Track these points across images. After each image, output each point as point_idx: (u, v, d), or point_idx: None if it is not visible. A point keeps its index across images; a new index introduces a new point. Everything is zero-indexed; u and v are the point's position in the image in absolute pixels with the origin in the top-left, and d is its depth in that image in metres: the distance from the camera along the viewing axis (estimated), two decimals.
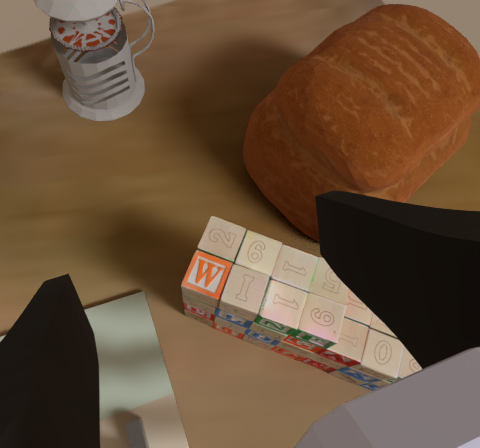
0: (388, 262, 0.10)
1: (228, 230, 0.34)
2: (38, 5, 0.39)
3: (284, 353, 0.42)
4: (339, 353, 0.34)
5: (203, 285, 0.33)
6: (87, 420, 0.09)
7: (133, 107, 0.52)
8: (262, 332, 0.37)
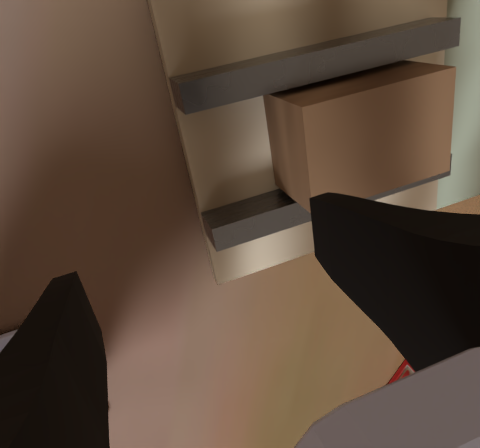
0: (381, 265, 0.10)
1: None
2: None
3: None
4: None
5: None
6: (96, 416, 0.09)
7: None
8: None
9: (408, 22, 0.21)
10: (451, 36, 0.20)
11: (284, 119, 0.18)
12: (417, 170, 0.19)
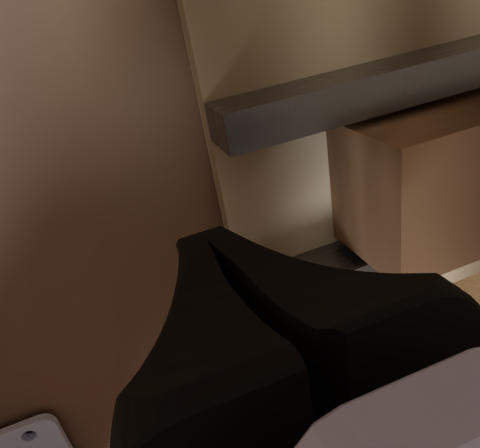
0: None
1: None
2: None
3: None
4: None
5: None
6: None
7: None
8: None
9: None
10: None
11: (363, 160, 0.13)
12: None
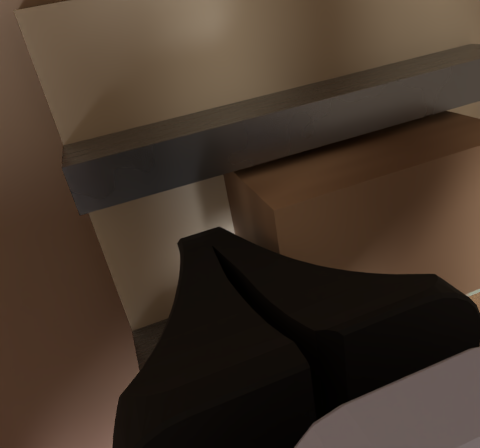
0: None
1: None
2: None
3: None
4: None
5: None
6: None
7: None
8: None
9: (440, 51, 0.14)
10: None
11: (250, 212, 0.11)
12: (458, 283, 0.13)
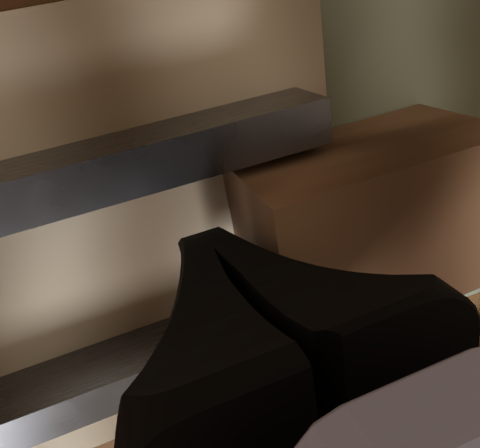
0: None
1: None
2: None
3: None
4: None
5: None
6: None
7: None
8: None
9: (256, 97, 0.12)
10: (315, 129, 0.11)
11: (249, 211, 0.11)
12: (458, 283, 0.13)
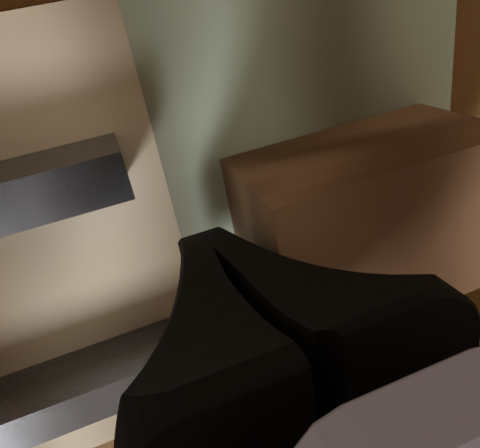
0: None
1: None
2: None
3: None
4: None
5: None
6: None
7: None
8: None
9: (65, 144, 0.11)
10: (109, 185, 0.10)
11: (249, 211, 0.11)
12: (458, 282, 0.13)
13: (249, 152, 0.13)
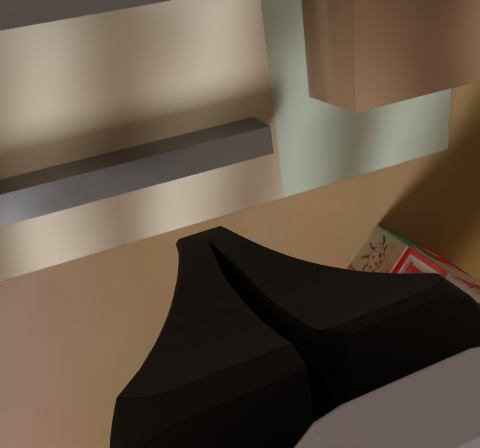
0: None
1: None
2: None
3: None
4: None
5: None
6: None
7: None
8: None
9: None
10: None
11: (327, 6, 0.17)
12: (468, 71, 0.18)
13: None
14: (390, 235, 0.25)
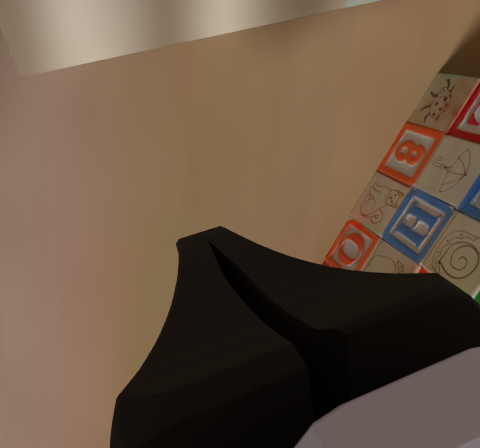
0: None
1: None
2: None
3: (344, 241, 0.25)
4: None
5: None
6: None
7: None
8: (455, 240, 0.19)
9: None
10: None
11: None
12: None
13: None
14: (456, 76, 0.22)
